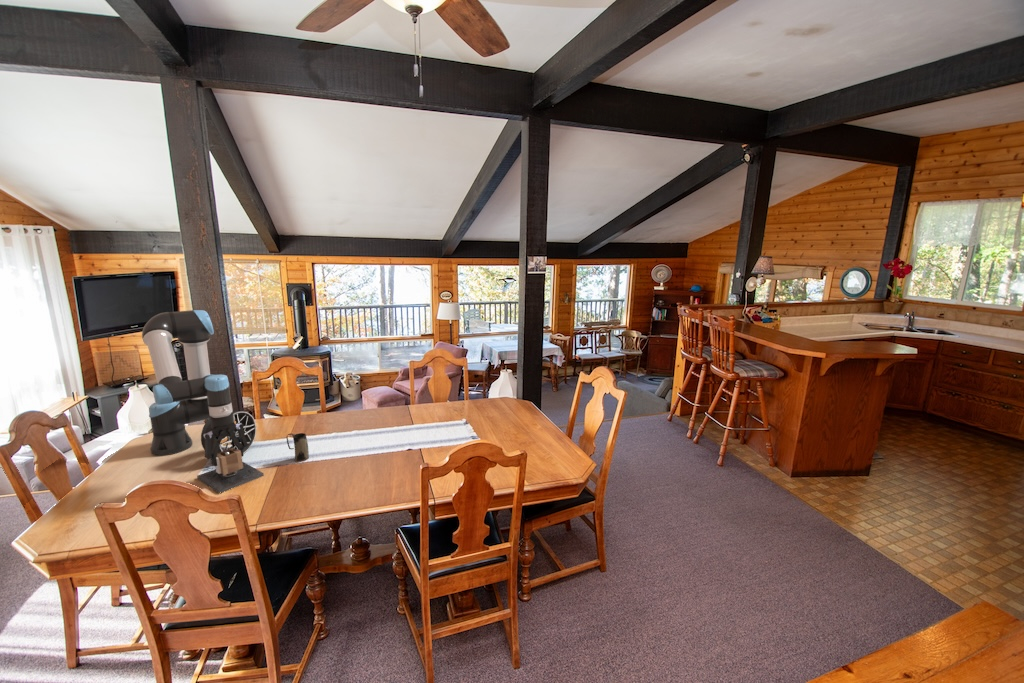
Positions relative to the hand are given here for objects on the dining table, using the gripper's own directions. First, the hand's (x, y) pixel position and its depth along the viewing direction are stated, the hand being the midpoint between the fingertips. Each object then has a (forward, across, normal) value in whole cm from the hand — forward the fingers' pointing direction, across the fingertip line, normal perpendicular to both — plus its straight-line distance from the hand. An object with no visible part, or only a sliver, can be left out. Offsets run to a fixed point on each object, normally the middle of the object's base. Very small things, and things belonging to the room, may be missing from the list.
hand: (229, 468), depth 170 cm
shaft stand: (+4, 0, 0) cm, 4 cm away
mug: (+4, +24, -8) cm, 26 cm away
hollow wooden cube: (0, 0, 0) cm, 0 cm away
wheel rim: (+4, +10, +22) cm, 25 cm away
